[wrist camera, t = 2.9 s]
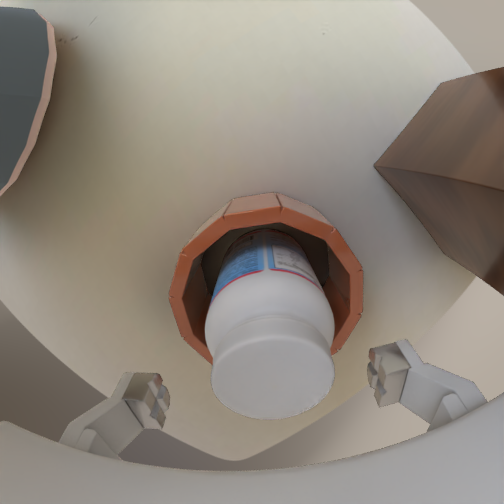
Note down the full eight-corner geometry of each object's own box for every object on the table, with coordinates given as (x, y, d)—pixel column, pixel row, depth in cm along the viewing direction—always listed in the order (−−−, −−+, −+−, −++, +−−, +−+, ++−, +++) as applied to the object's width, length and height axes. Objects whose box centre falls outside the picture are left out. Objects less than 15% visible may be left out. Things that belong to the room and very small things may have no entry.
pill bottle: (231, 310, 21) (211, 433, 10) (216, 233, 19) (168, 327, 9) (310, 300, 21) (347, 419, 10) (304, 221, 19) (358, 305, 8)
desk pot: (332, 184, 18) (360, 195, 13) (340, 318, 21) (359, 363, 16) (177, 208, 19) (148, 228, 13) (210, 336, 22) (199, 383, 17)
